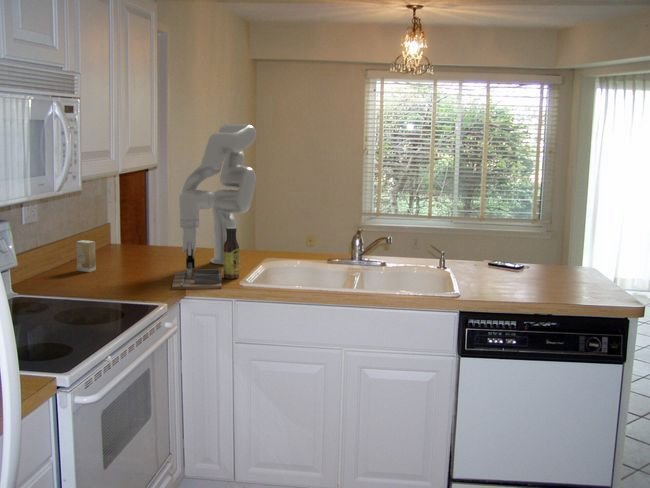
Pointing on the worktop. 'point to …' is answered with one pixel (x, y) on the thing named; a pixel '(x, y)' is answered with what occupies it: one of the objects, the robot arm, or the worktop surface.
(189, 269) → the gate
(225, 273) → the sauce bottle
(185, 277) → the board
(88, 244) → the skincare box
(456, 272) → the worktop surface
